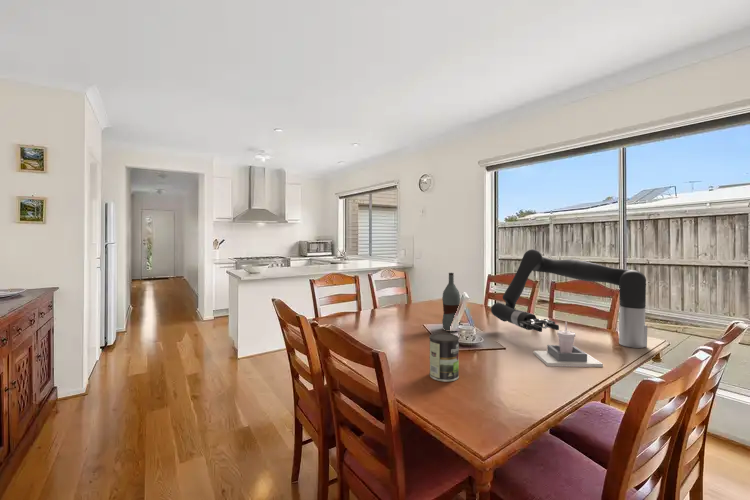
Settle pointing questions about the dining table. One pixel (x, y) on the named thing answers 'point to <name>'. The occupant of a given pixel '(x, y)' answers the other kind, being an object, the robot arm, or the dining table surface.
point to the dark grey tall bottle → (450, 302)
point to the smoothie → (566, 340)
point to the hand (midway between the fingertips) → (549, 328)
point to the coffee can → (444, 357)
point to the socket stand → (566, 357)
